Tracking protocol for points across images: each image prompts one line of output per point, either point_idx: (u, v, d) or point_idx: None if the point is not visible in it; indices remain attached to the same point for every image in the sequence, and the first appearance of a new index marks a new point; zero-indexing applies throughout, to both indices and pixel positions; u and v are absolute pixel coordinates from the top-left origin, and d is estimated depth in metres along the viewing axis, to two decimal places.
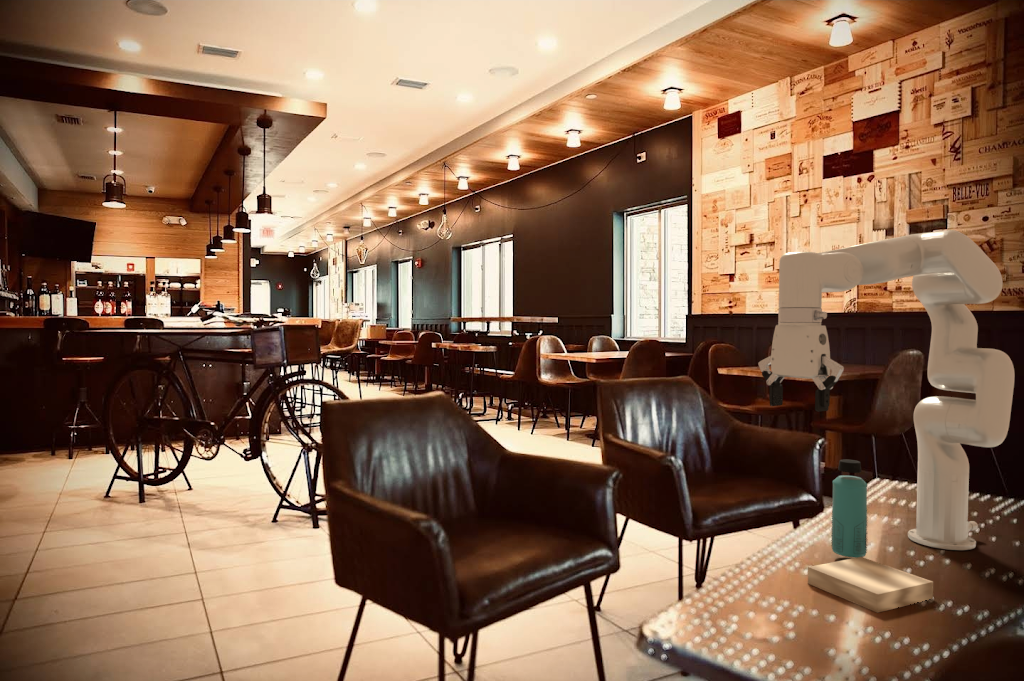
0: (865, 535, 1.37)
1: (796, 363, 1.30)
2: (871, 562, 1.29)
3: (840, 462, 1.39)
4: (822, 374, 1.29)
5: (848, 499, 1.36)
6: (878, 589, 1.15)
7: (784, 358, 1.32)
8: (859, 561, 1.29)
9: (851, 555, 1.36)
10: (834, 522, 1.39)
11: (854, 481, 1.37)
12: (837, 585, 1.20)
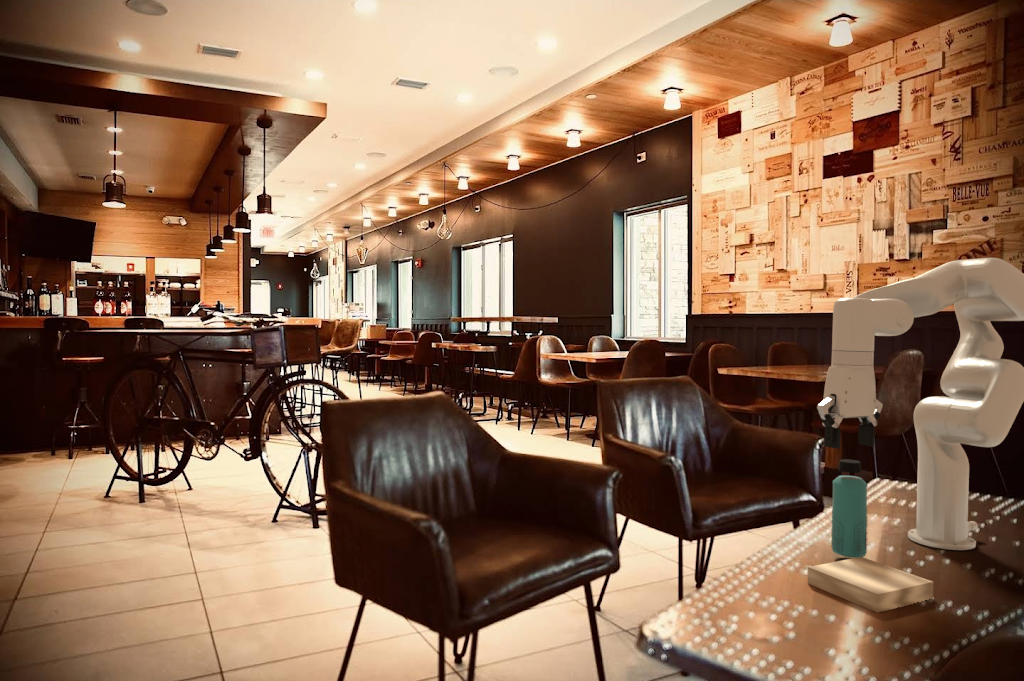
0: (865, 535, 1.37)
1: (864, 404, 1.37)
2: (871, 562, 1.29)
3: (840, 462, 1.39)
4: None
5: (848, 499, 1.36)
6: (878, 589, 1.15)
7: (856, 400, 1.36)
8: (859, 561, 1.29)
9: (851, 555, 1.36)
10: (834, 522, 1.39)
11: (854, 481, 1.37)
12: (837, 585, 1.20)
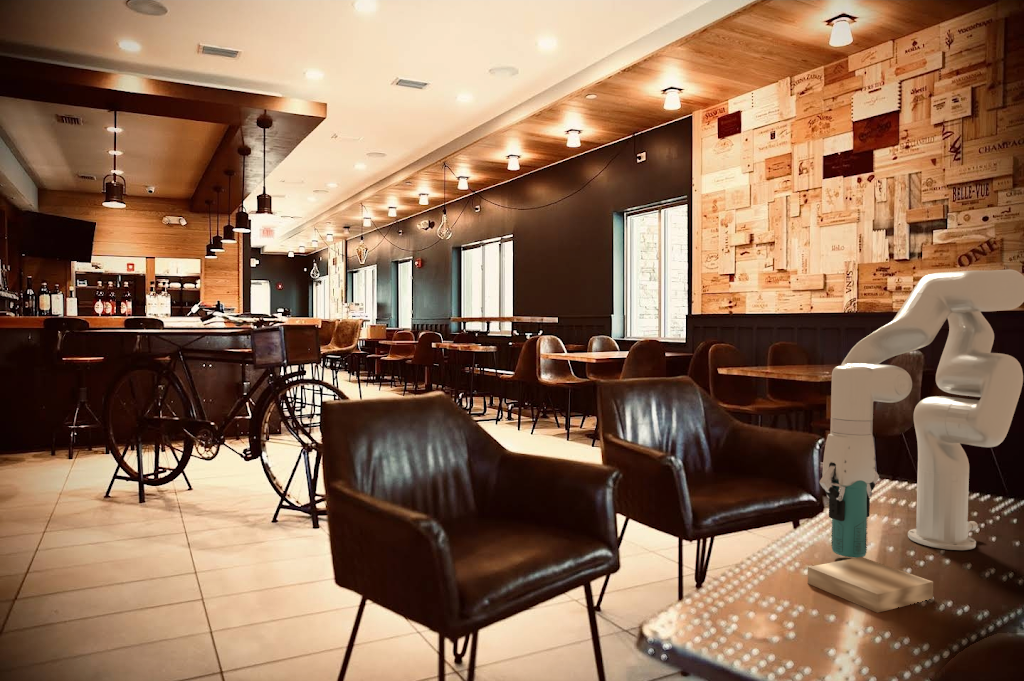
0: (865, 535, 1.37)
1: (864, 472, 1.37)
2: (871, 562, 1.29)
3: None
4: None
5: (848, 499, 1.36)
6: (878, 589, 1.15)
7: (855, 468, 1.36)
8: (859, 561, 1.29)
9: (851, 555, 1.36)
10: (834, 522, 1.39)
11: None
12: (837, 585, 1.20)
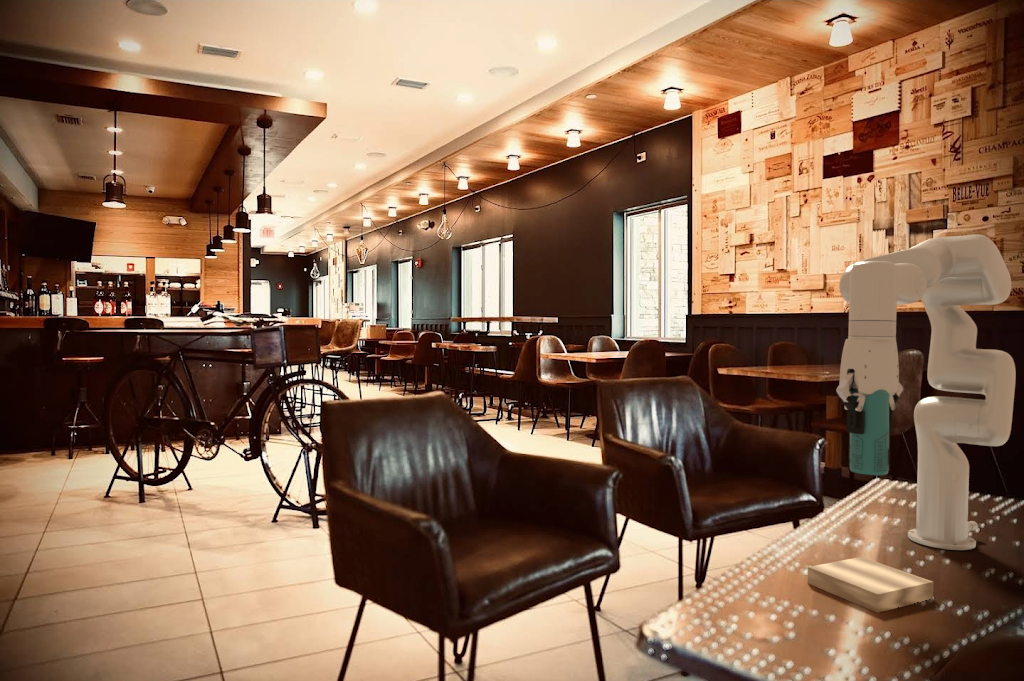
0: (887, 450, 1.22)
1: (886, 380, 1.22)
2: (871, 562, 1.29)
3: None
4: None
5: (868, 409, 1.21)
6: (878, 589, 1.15)
7: (876, 375, 1.21)
8: (859, 561, 1.29)
9: (871, 472, 1.21)
10: (853, 437, 1.24)
11: None
12: (837, 585, 1.20)
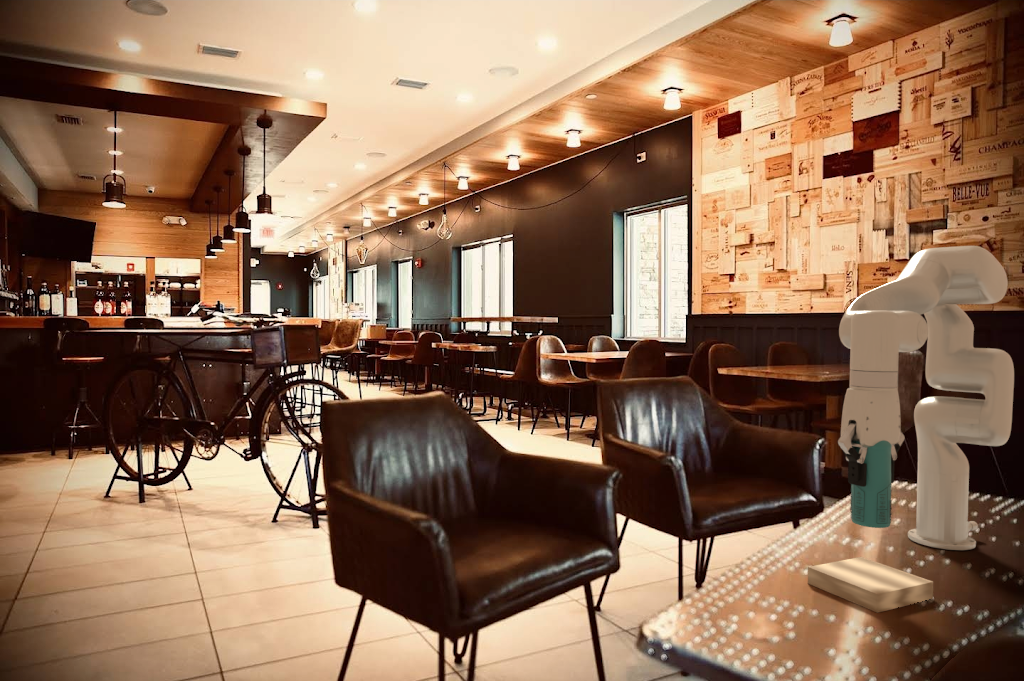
0: (889, 502, 1.20)
1: (888, 431, 1.20)
2: (871, 562, 1.29)
3: None
4: None
5: (870, 461, 1.20)
6: (878, 589, 1.15)
7: (878, 426, 1.19)
8: (859, 561, 1.29)
9: (874, 525, 1.20)
10: (854, 489, 1.22)
11: None
12: (837, 585, 1.20)
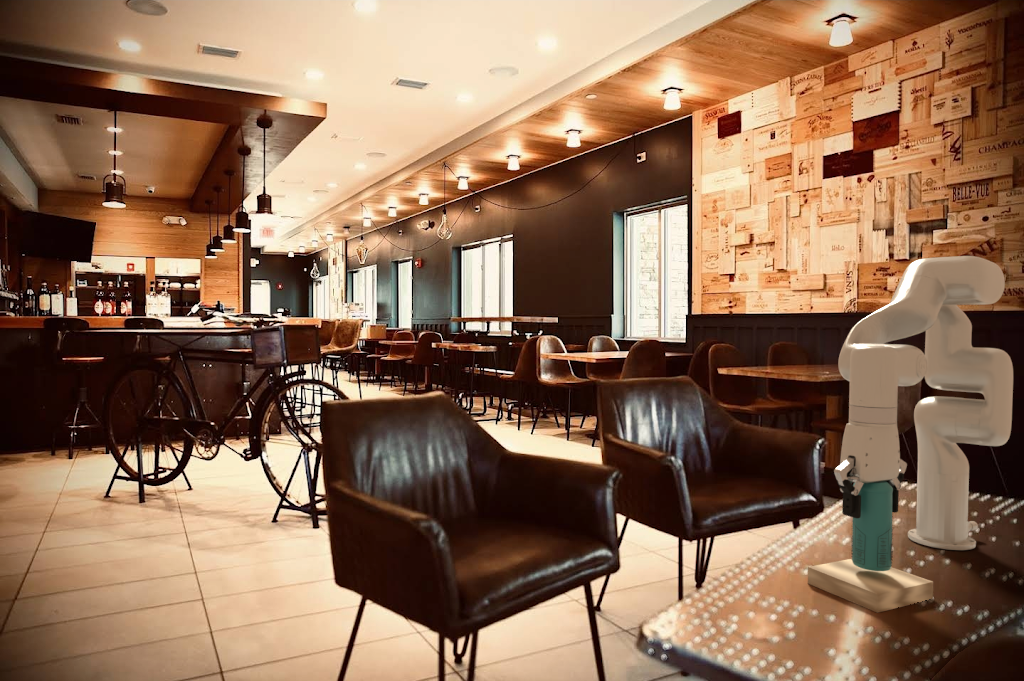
0: (890, 546, 1.20)
1: (887, 466, 1.21)
2: None
3: None
4: None
5: (871, 505, 1.20)
6: (878, 589, 1.15)
7: (878, 462, 1.19)
8: None
9: (874, 568, 1.20)
10: (855, 531, 1.22)
11: (878, 485, 1.20)
12: (837, 585, 1.20)
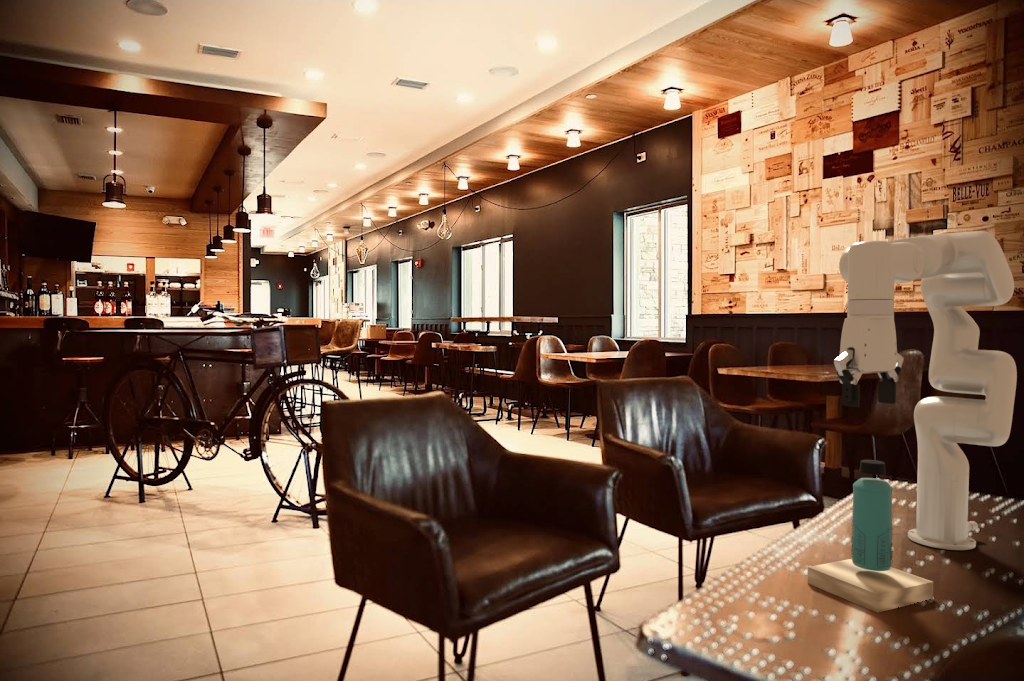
0: (890, 546, 1.21)
1: (885, 357, 1.25)
2: None
3: (861, 463, 1.23)
4: None
5: (871, 504, 1.20)
6: (878, 589, 1.15)
7: (876, 353, 1.23)
8: None
9: (874, 568, 1.20)
10: (855, 531, 1.22)
11: (878, 484, 1.20)
12: (837, 585, 1.20)
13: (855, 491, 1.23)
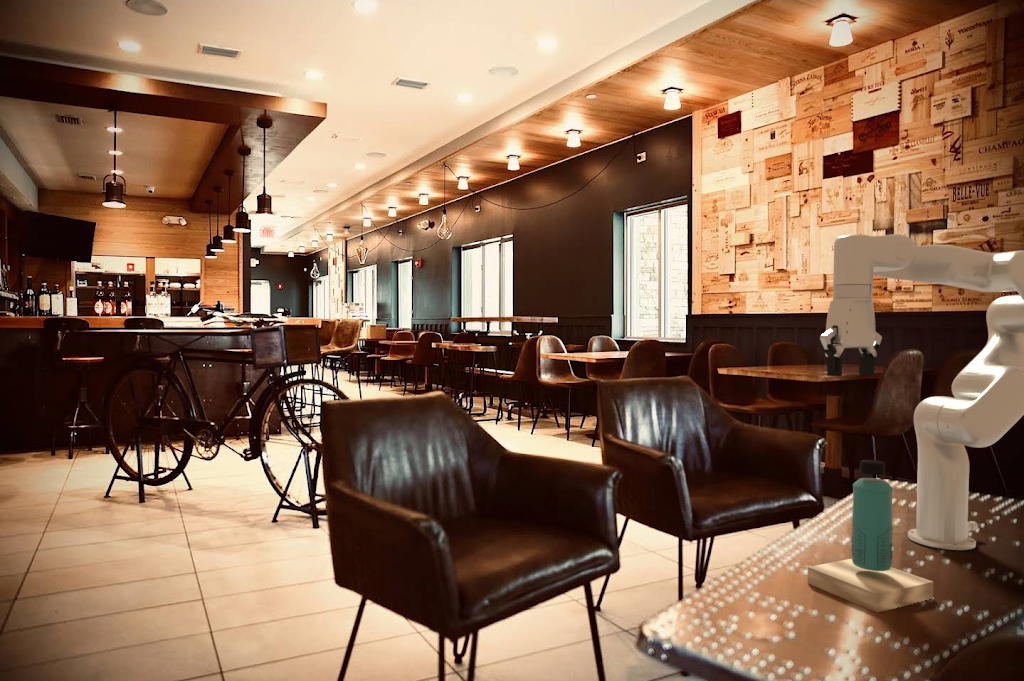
0: (890, 546, 1.21)
1: (864, 334, 1.45)
2: None
3: (861, 463, 1.23)
4: None
5: (871, 505, 1.20)
6: (878, 589, 1.15)
7: (856, 330, 1.44)
8: None
9: (874, 568, 1.20)
10: (855, 531, 1.22)
11: (878, 484, 1.20)
12: (837, 585, 1.20)
13: (855, 491, 1.23)
